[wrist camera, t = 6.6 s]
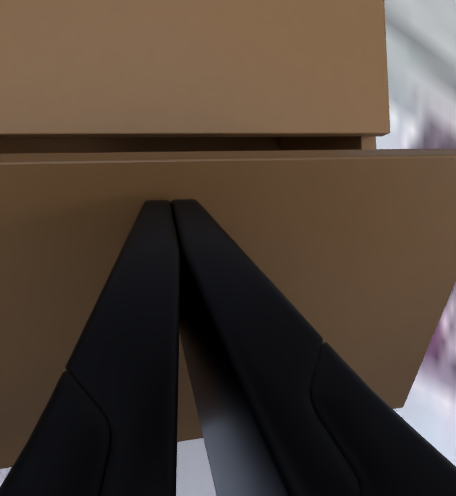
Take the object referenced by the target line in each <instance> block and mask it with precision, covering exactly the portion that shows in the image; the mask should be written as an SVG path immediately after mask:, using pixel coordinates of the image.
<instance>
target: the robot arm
mask: <svg viewBox="0 0 456 496" xmlns="http://www.w3.org/2000/svg"><path fill="white" fill-rule="evenodd" d="M179 333H180V338H181V343H182V347H183V352H184V356H185V360H186V365H187V369H188V373H189V378H190V382H191V386H192V391H193V395H194V399H195V404H196V408H197V412H198V417H199V421H200V425H201V430H202V434H203V438H204V443H205V447H206V451H207V456H208V460H209V464H210V469H211V473H212V477H213V482H214V486H215V490H216V495H217V496H456V467H455V466H454V465H453V464H452V463H451V462H450V461H449V460H448V459H447V458H446V457H444V456H443V455H442V454H441V453H440V452H439V451H438V450H437V449H436V448H434V447H433V446H432V445H431V444H430V443H429V442H428V441H427V440H426V439H424V438H423V437H422V436H421V435H420V434H419V433H418V432H417V431H416V430H414V429H413V428H412V427H411V426H410V425H409V424H408V423H407V422H406V421H405V420H404V419H403V418H401V417H400V416H399V415H398V414H397V413H396V412H395V411H394V410H393V409H392V408H391V407H390V406H389V405H388V404H387V403H386V402H385V401H383V400H382V399H381V398H380V397H379V396H378V395H377V394H376V393H375V392H374V391H373V390H372V389H371V388H370V387H369V386H368V385H367V384H366V383H365V382H364V381H363V380H362V379H361V378H360V377H359V376H358V375H357V374H356V372H355V371H354V370H353V369H352V368H351V367H350V366H349V365H348V364H347V363H346V362H345V361H344V360H343V359H342V358H341V357H340V356H339V355H338V353H337V352H336V351H335V350H334V349H333V348H332V347H331V346H330V345H329V344H328V343H327V342H324V343H323V337H322V336H321V335H320V334H319V333H318V332H317V331H316V330H315V329H314V327H313V326H312V325H311V324H310V323H309V322H308V321H307V320H306V319H305V318H304V317H303V315H302V314H301V313H300V312H299V311H298V310H297V309H296V308H295V307H294V306H293V304H292V303H291V302H290V301H289V300H288V299H287V298H286V297H285V296H284V295H283V294H282V292H281V291H280V290H279V289H278V288H277V287H276V286H275V285H274V284H273V283H272V282H271V280H270V279H269V278H268V277H267V276H266V275H265V274H264V273H263V272H262V271H261V270H260V268H259V267H258V266H257V265H256V264H255V263H254V262H253V261H252V260H251V259H250V258H249V256H248V255H247V254H246V253H245V252H244V251H243V250H242V249H241V248H240V247H239V245H238V244H237V243H236V242H235V241H234V240H233V239H232V238H231V237H230V236H229V235H228V233H227V232H226V231H225V230H224V229H223V228H222V227H221V226H220V225H219V224H218V223H217V221H216V220H215V219H214V218H213V217H212V216H211V215H210V214H209V213H208V212H207V211H206V209H205V208H204V207H203V206H202V205H201V204H200V203H199V202H198V201H197V200H195V199H174V200H172V202H171V203H170V202H169V201H168V200H147V201H145V202H144V203H143V205H142V207H141V209H140V211H139V214H138V216H137V218H136V220H135V222H134V224H133V226H132V228H131V230H130V232H129V234H128V237H127V239H126V241H125V243H124V245H123V247H122V249H121V251H120V253H119V255H118V257H117V260H116V262H115V264H114V266H113V268H112V270H111V272H110V274H109V276H108V278H107V280H106V283H105V285H104V287H103V289H102V291H101V293H100V295H99V297H98V299H97V301H96V303H95V306H94V308H93V310H92V312H91V314H90V316H89V318H88V320H87V322H86V324H85V326H84V329H83V331H82V333H81V335H80V337H79V339H78V341H77V343H76V345H75V347H74V349H73V352H72V354H71V356H70V358H69V360H68V362H67V364H66V366H65V369H66V371H64V372H63V373H62V374H61V376H60V378H59V380H58V382H57V384H56V386H55V388H54V391H53V393H52V395H51V397H50V399H49V401H48V403H47V405H46V407H45V409H44V410H43V412H42V414H41V416H40V418H39V420H38V422H37V424H36V426H35V428H34V430H33V432H32V434H31V436H30V437H29V439H28V441H27V443H26V445H25V446H24V448H23V450H22V451H21V453H20V455H19V456H18V458H17V460H16V461H15V463H14V465H13V467H12V468H11V470H10V472H9V473H8V475H7V477H6V478H5V480H4V482H3V483H2V485H1V487H0V496H176V467H177V421H178V374H179Z"/></svg>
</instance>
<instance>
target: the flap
mask: <svg viewBox="0 0 456 496" xmlns="http://www.w3.org/2000/svg"><path fill="white" fill-rule="evenodd" d="M174 199H195V200H197V201H198V202H199V203H200V204H201V205H202V206H203V207H204V208H205V209H206V211H207V212H208V213H209V214H210V215H211V216H212V217H213V218H214V219H215V220H216V221H217V223H218V224H219V225H220V226H221V227H222V228H223V229H224V230H225V231H226V232H227V233H228V235H229V236H230V237H231V238H232V239H233V240H234V241H235V242H236V243H237V244H238V245H239V247H240V248H241V249H242V250H243V251H244V252H245V253H246V254H247V255H248V256H249V258H250V259H251V260H252V261H253V262H254V263H255V264H256V265H257V266H258V267H259V268H260V270H261V271H262V272H263V273H264V274H265V275H266V276H267V277H268V278H269V279H270V280H271V282H272V283H273V284H274V285H275V286H276V287H277V288H278V289H279V290H280V291H281V292H282V294H283V295H284V296H285V297H286V298H287V299H288V300H289V301H290V302H291V303H292V304H293V306H294V307H295V308H296V309H297V310H298V311H299V312H300V313H301V314H302V315H303V317H304V318H305V319H306V320H307V321H308V322H309V323H310V324H311V325H312V326H313V327H314V329H315V330H316V331H317V332H318V333H319V334H320V335H321V336H322V337H323V343H324V342H327V343H328V344H329V345H330V346H331V347H332V348H333V349H334V350H335V351H336V352H337V353H338V355H339V356H340V357H341V358H342V359H343V360H344V361H345V362H346V363H347V364H348V365H349V366H350V367H351V368H352V369H353V370H354V371H355V372H356V374H357V375H358V376H359V377H360V378H361V379H362V380H363V381H364V382H365V383H366V384H367V385H368V386H369V387H370V388H371V389H372V390H373V391H374V392H375V393H376V394H377V395H378V396H379V397H380V398H381V399H382V400H383V401H385V402H386V403H387V404H388V405H389V406H390V407H391V408H392V409H396V408H402V407H403V406H404V404H405V401H406V399H407V396H408V394H409V392H410V389H411V387H412V384H413V382H414V380H415V377H416V375H417V373H418V370H419V368H420V365H421V363H422V361H423V358H424V356H425V353H426V351H427V349H428V346H429V344H430V341H431V339H432V337H433V334H434V332H435V330H436V327H437V325H438V322H439V320H440V318H441V315H442V313H443V310H444V308H445V306H446V303H447V301H448V299H449V296H450V294H451V291H452V289H453V287H454V284H455V282H456V149H372V150H285V151H199V152H113V153H26V154H0V469H3V468H9V467H13V465H14V463H15V461H16V460H17V458H18V456H19V455H20V453H21V451H22V450H23V448H24V446H25V445H26V443H27V441H28V439H29V437H30V436H31V434H32V432H33V430H34V428H35V426H36V424H37V422H38V420H39V418H40V416H41V414H42V412H43V410H44V409H45V407H46V405H47V403H48V401H49V399H50V397H51V395H52V393H53V391H54V388H55V386H56V384H57V382H58V380H59V378H60V376H61V374H62V373H63V372H64V371H66V369H65V366H66V364H67V362H68V360H69V358H70V356H71V354H72V352H73V349H74V347H75V345H76V343H77V341H78V339H79V337H80V335H81V333H82V331H83V329H84V326H85V324H86V322H87V320H88V318H89V316H90V314H91V312H92V310H93V308H94V306H95V303H96V301H97V299H98V297H99V295H100V293H101V291H102V289H103V287H104V285H105V283H106V280H107V278H108V276H109V274H110V272H111V270H112V268H113V266H114V264H115V262H116V260H117V257H118V255H119V253H120V251H121V249H122V247H123V245H124V243H125V241H126V239H127V237H128V234H129V232H130V230H131V228H132V226H133V224H134V222H135V220H136V218H137V216H138V214H139V211H140V209H141V207H142V205H143V203H144V202H145V201H147V200H168V201H169V202H170V203H171V202H172V200H174ZM199 438H203V434H202V430H201V425H200V421H199V417H198V412H197V408H196V404H195V399H194V395H193V391H192V386H191V382H190V378H189V373H188V369H187V365H186V360H185V356H184V352H183V347H182V343H181V338H180V333H179V374H178V421H177V442H179V441H186V440H193V439H199Z"/></svg>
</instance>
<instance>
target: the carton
mask: <svg viewBox="0 0 456 496" xmlns="http://www.w3.org/2000/svg"><path fill="white" fill-rule="evenodd" d="M389 133H390V120H389V97H388V75H387V53H386V31H385V9H384V0H0V154H26V153H113V152H199V151H285V150H372V149H376V136H384V135H386V134H389Z"/></svg>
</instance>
